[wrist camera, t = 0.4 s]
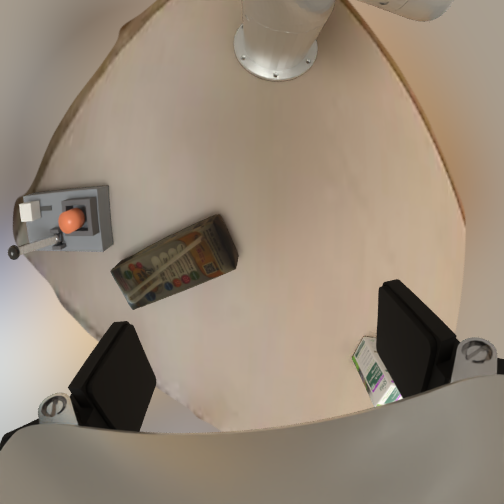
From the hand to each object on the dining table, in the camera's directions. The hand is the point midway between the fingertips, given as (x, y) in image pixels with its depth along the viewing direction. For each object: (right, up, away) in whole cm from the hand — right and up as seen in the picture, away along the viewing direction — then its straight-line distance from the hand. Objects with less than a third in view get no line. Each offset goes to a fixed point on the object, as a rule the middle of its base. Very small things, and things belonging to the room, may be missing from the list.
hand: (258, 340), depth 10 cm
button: (-27, +8, +28) cm, 39 cm away
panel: (-32, +9, +34) cm, 48 cm away
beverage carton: (-12, +2, +37) cm, 39 cm away
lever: (-32, +5, +30) cm, 44 cm away
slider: (-38, +11, +29) cm, 49 cm away
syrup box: (+23, -16, +43) cm, 52 cm away
